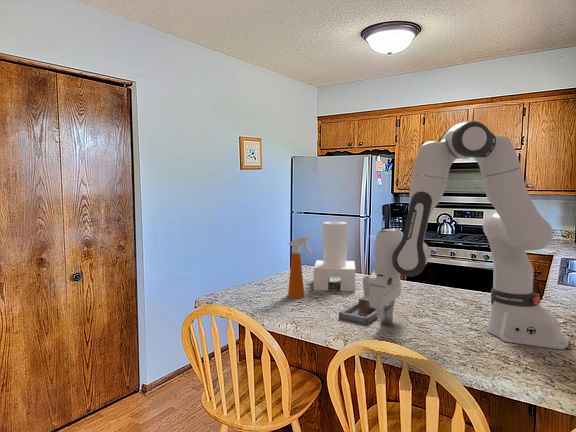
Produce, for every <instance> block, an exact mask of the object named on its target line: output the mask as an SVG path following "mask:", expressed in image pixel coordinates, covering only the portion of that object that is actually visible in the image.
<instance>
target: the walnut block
mask: <svg viewBox="0 0 576 432" xmlns="http://www.w3.org/2000/svg"><path fill="white" fill-rule="evenodd" d="M358 302H359V312H361V313H366V314H371V313H372V312H374V311H375V308H371V307H370V304H369V297H366V296H365V295H364V296H361V297H360V298H358Z"/></svg>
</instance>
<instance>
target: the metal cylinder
mask: <svg viewBox="0 0 576 432" xmlns="http://www.w3.org/2000/svg"><path fill="white" fill-rule="evenodd" d="M382 312H383V313H384V317H383V319H380V325H382V326H384V327H386V326H387V327H389V326H390V327H391V326H392V325H393V324H394V323H393V322H394V321H393V320H394V317H393V316H394V310H393V307H392V306H390V305H388V304H387V305H385V306H384V307H383V310H382Z"/></svg>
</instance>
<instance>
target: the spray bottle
mask: <svg viewBox="0 0 576 432" xmlns="http://www.w3.org/2000/svg"><path fill="white" fill-rule="evenodd" d="M309 239H310V237H309V235H308V236H307V235H303V236H300V237H297V238H295V239H292V240H291V241H290V242H288V245H289V246H292V248H291V257H290V268H289V270H290V271H289V283H288V292H287V296H288V298H291V299H303V298H304V297H305V289H304V288H305V287H304V277H303V267H302V257H301V248H300V246H301V247H302V248H304V250H305V251H306V252H308V253H309V254H311V255H313V253H312V251H311V249H310V248H309V247H308V244H307V243H308V242H307V241H308V240H309Z"/></svg>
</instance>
